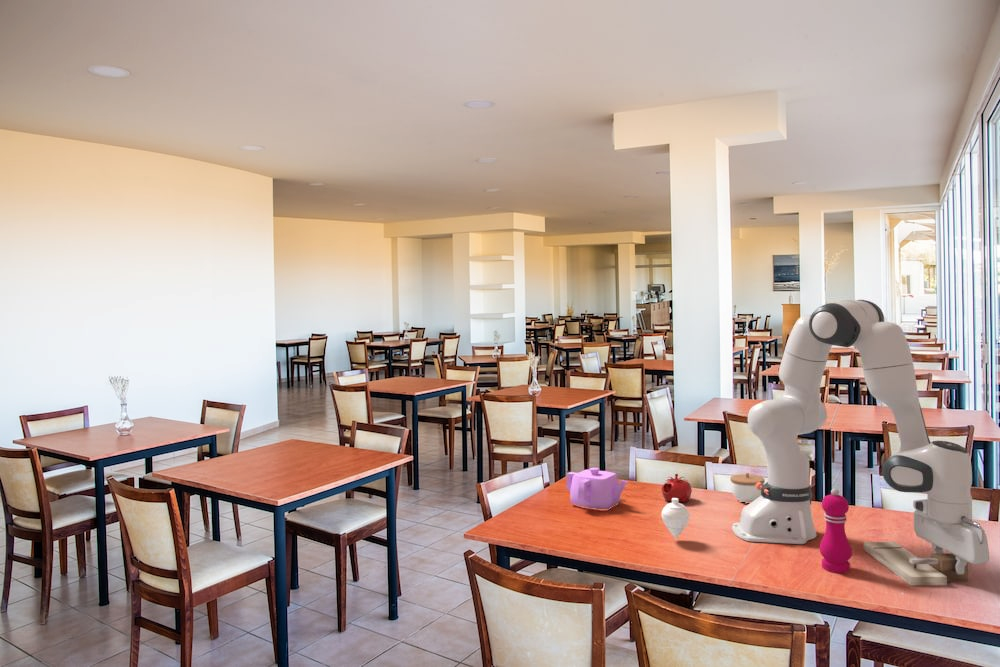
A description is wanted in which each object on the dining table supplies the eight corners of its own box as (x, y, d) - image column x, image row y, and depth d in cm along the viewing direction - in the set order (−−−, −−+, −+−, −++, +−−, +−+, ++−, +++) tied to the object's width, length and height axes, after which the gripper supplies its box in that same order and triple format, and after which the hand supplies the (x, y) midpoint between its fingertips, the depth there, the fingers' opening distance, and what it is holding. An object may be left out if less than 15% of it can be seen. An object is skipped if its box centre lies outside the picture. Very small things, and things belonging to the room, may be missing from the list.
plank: (911, 585, 157) (910, 576, 157) (863, 549, 180) (863, 541, 180) (946, 585, 156) (946, 576, 156) (894, 549, 179) (894, 541, 179)
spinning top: (690, 537, 193) (690, 495, 193) (689, 546, 186) (688, 503, 186) (663, 534, 196) (662, 493, 195) (660, 544, 189) (659, 501, 188)
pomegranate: (691, 497, 233) (691, 470, 233) (692, 505, 224) (692, 477, 223) (661, 495, 236) (661, 469, 235) (661, 503, 226) (661, 476, 225)
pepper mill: (813, 563, 171) (812, 485, 171) (841, 562, 172) (840, 484, 171) (830, 575, 164) (829, 493, 163) (858, 573, 165) (857, 491, 164)
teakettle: (564, 499, 235) (563, 464, 234) (610, 495, 238) (609, 460, 237) (579, 514, 218) (578, 476, 217) (629, 509, 221) (628, 472, 221)
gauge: (915, 581, 159) (915, 560, 159) (906, 574, 163) (906, 554, 163) (968, 580, 159) (968, 559, 158) (957, 573, 163) (957, 553, 162)
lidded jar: (770, 505, 221) (769, 476, 220) (737, 506, 221) (736, 477, 221) (758, 496, 231) (757, 468, 231) (726, 496, 232) (726, 469, 231)
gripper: (997, 524, 150) (997, 585, 150) (932, 498, 170) (932, 552, 171) (970, 525, 149) (970, 587, 150) (908, 499, 170) (908, 553, 170)
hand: (949, 568), depth 161 cm, fingers closed on gauge, 4 cm apart
